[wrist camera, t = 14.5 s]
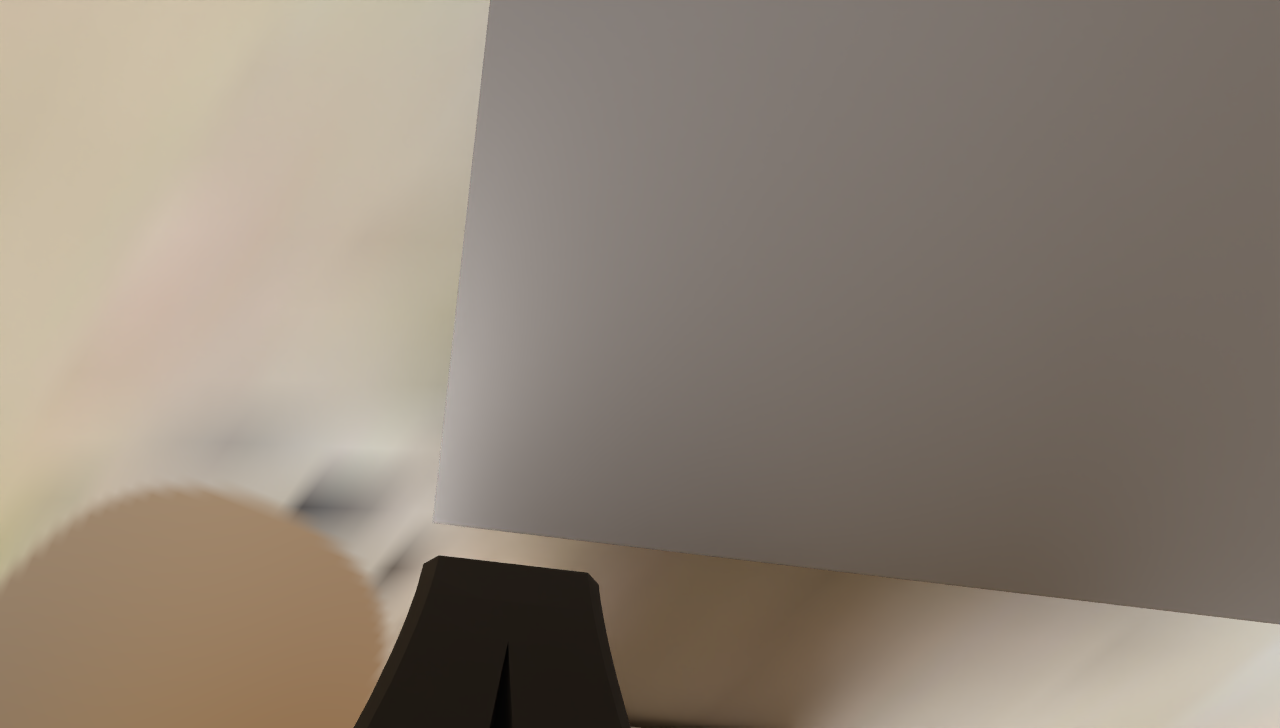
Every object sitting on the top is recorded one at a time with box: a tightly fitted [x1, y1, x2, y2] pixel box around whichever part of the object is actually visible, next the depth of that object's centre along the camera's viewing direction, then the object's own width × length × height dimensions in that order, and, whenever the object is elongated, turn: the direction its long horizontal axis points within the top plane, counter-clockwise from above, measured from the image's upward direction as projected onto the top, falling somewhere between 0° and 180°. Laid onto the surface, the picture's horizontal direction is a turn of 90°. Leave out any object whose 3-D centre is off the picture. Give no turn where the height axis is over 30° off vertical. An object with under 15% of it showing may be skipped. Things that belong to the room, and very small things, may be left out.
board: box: [433, 0, 1280, 624], centre depth 17 cm, size 14×16×2 cm
